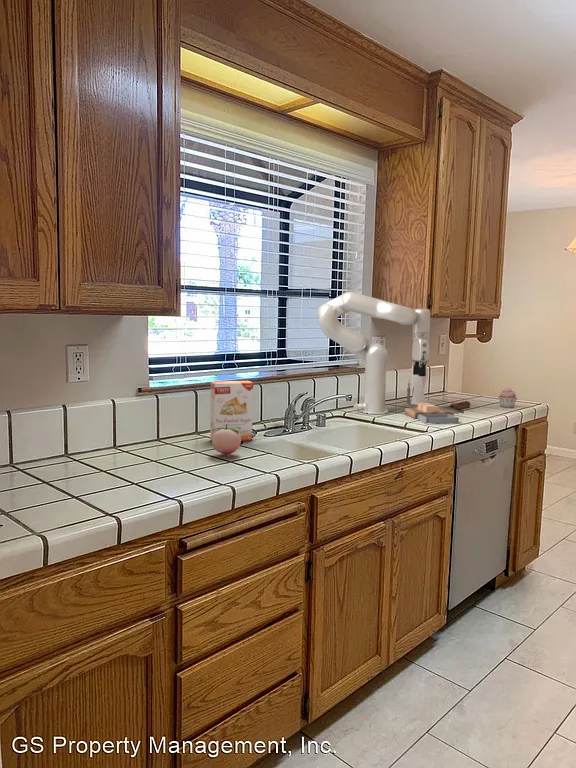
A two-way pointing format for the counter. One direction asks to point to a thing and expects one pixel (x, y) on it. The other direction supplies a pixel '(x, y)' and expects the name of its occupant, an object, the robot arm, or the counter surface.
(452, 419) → the tray
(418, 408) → the tile rear
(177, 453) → the counter surface
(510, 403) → the cupcake
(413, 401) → the skyscraper
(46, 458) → the counter surface
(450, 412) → the board
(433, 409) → the tile front
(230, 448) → the decorative fruit
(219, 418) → the cracker box
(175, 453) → the counter surface
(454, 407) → the meat cleaver
